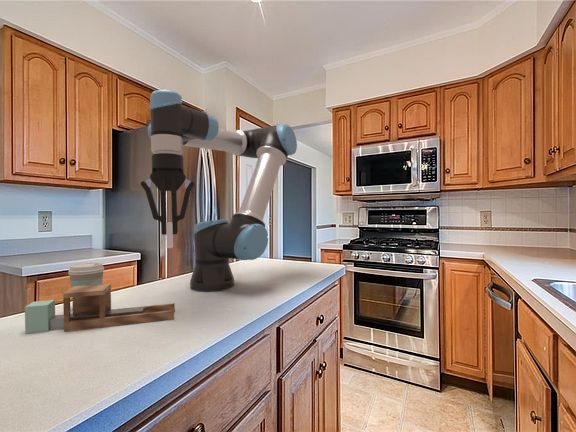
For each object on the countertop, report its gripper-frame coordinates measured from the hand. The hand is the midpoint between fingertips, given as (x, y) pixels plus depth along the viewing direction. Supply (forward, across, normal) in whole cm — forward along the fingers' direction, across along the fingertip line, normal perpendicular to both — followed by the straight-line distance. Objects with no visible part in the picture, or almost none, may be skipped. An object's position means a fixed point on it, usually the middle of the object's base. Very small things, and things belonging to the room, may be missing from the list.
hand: (170, 247), depth 80 cm
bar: (+18, +16, 0) cm, 24 cm away
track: (+17, +11, 0) cm, 21 cm away
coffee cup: (+18, +22, -14) cm, 32 cm away
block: (+17, +28, 0) cm, 33 cm away
